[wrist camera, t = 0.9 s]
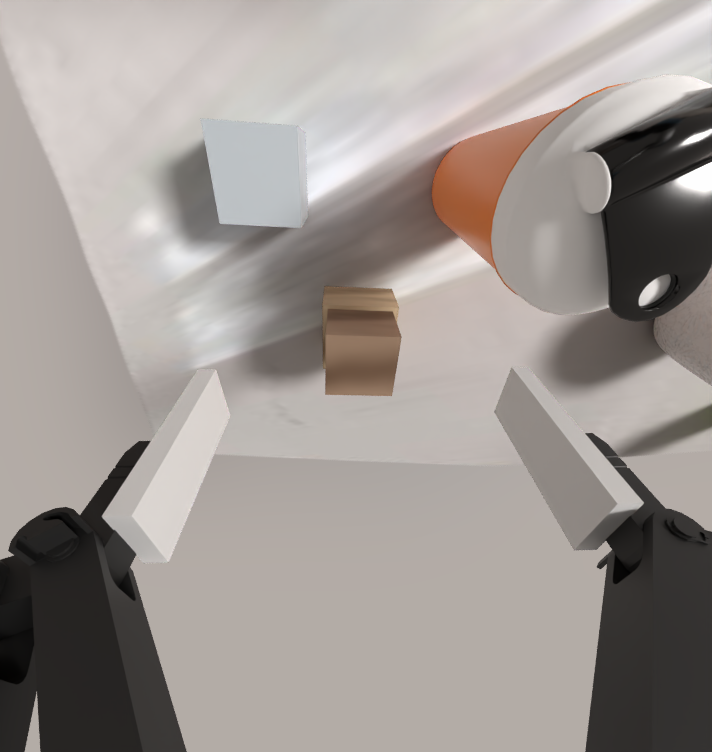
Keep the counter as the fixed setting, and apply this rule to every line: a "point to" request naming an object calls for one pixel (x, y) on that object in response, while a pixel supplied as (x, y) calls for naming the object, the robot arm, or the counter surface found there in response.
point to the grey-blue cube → (257, 172)
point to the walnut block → (361, 352)
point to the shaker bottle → (592, 199)
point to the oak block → (356, 303)
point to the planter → (689, 331)
